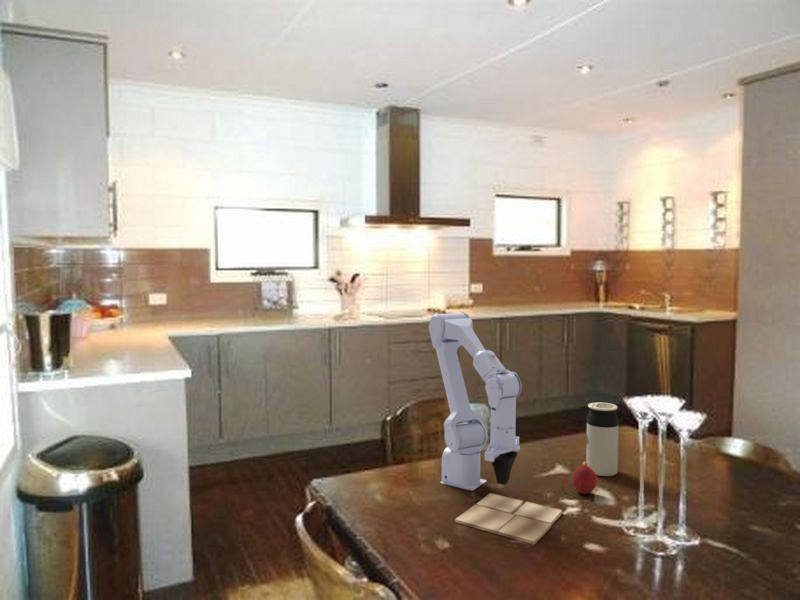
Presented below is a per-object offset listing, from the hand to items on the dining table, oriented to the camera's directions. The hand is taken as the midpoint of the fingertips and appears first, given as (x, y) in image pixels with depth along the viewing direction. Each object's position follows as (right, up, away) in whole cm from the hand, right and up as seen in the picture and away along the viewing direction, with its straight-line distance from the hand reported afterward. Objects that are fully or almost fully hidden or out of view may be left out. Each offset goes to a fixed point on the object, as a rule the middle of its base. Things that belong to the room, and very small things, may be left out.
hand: (502, 483), depth 135 cm
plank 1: (-1, -5, -1) cm, 5 cm away
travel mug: (+30, -4, +21) cm, 37 cm away
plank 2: (+7, -6, -6) cm, 11 cm away
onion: (+21, -5, +6) cm, 22 cm away
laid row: (-2, -6, -11) cm, 13 cm away
